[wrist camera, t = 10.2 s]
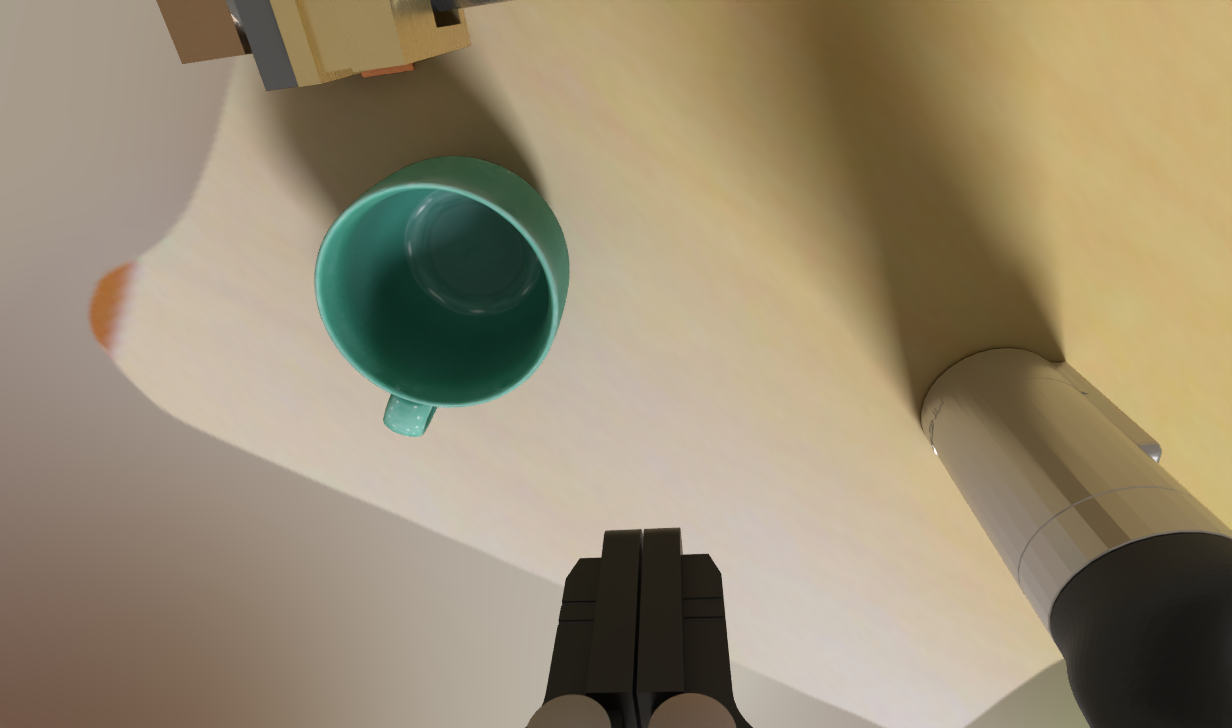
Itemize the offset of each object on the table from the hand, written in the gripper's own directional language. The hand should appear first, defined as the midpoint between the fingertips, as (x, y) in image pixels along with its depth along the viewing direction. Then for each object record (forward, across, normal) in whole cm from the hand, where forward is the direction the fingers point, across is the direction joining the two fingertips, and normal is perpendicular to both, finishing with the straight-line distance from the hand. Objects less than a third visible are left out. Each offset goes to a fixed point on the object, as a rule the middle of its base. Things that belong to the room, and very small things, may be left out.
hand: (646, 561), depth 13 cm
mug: (+30, +13, +4) cm, 33 cm away
